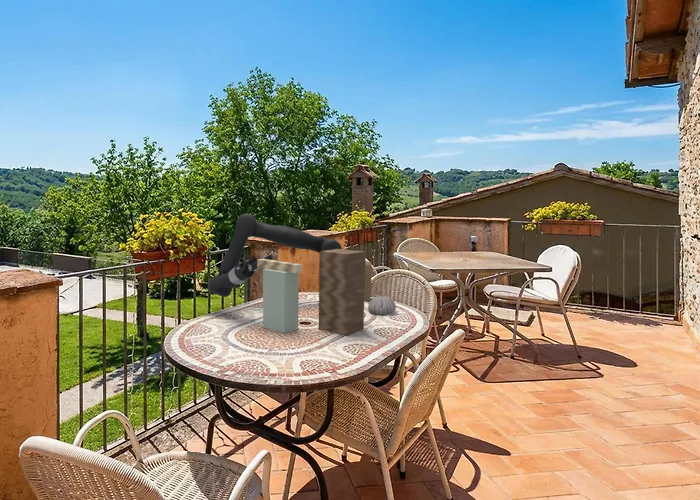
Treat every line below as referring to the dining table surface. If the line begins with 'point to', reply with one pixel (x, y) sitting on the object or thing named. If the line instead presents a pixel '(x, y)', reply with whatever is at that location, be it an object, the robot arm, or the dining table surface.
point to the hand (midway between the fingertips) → (263, 257)
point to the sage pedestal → (280, 300)
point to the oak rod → (279, 265)
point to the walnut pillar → (341, 291)
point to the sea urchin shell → (382, 305)
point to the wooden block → (367, 281)
